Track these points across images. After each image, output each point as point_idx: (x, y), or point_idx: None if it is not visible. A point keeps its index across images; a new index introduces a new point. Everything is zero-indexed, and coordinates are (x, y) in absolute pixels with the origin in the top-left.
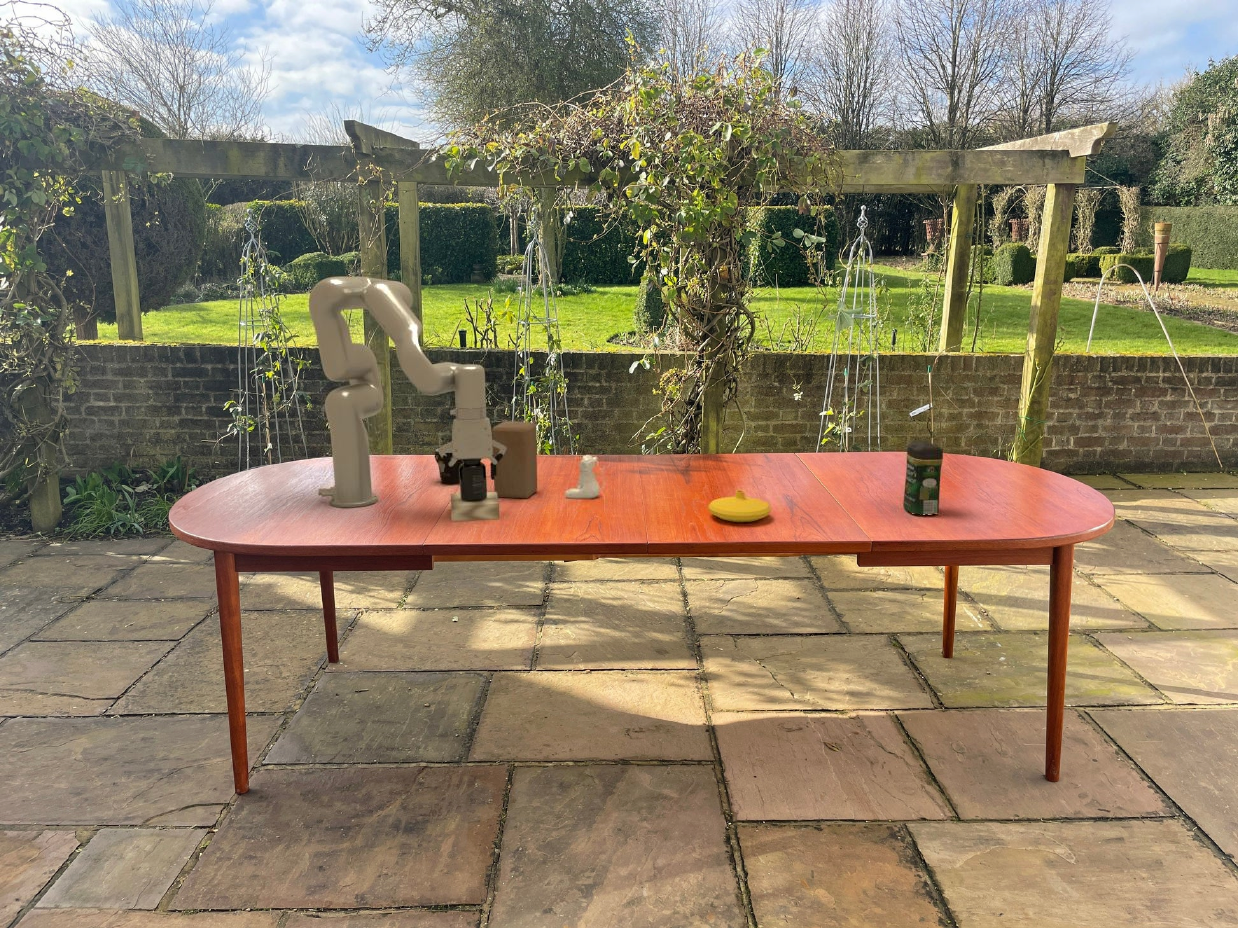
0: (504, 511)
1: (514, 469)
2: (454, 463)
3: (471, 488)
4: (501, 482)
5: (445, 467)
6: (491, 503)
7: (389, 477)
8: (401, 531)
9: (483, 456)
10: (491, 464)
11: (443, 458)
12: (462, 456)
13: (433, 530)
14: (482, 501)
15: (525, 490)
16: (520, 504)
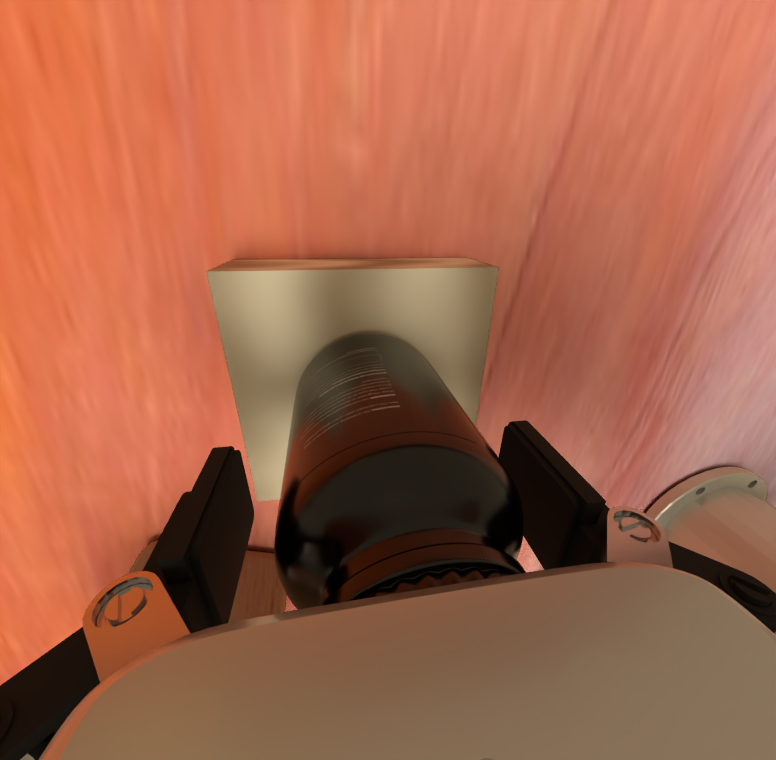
0: (225, 382)
1: None
2: (607, 536)
3: (393, 360)
4: (248, 607)
5: None
6: (259, 281)
7: None
8: (698, 125)
9: (251, 649)
10: (198, 584)
11: (756, 587)
12: (616, 602)
13: (568, 100)
14: (319, 337)
15: (141, 568)
16: (167, 474)
